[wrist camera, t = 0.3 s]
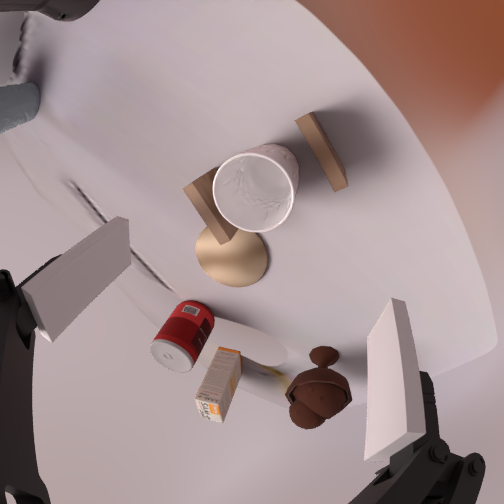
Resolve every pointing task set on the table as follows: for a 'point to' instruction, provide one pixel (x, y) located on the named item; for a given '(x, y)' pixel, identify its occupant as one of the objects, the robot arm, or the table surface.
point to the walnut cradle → (203, 186)
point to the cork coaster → (232, 258)
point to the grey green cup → (18, 104)
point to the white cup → (257, 187)
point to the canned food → (183, 336)
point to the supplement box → (219, 385)
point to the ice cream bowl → (318, 391)
